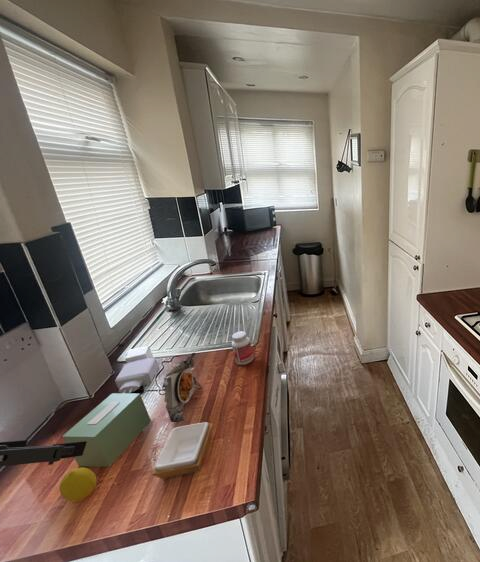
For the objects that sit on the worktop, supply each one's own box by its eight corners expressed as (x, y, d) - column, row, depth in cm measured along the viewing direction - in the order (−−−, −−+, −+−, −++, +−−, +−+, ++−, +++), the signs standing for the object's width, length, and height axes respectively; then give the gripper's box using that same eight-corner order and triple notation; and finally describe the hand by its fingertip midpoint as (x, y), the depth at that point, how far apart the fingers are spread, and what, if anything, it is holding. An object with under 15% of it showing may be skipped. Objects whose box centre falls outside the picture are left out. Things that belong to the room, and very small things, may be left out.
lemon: (64, 514, 65) (47, 489, 62) (75, 490, 69) (60, 465, 66) (96, 503, 67) (82, 478, 64) (105, 480, 71) (92, 456, 68)
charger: (111, 403, 94) (129, 374, 107) (146, 395, 97) (159, 367, 110) (105, 391, 92) (124, 362, 105) (141, 383, 95) (155, 356, 108)
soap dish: (176, 440, 81) (171, 425, 79) (216, 432, 83) (211, 418, 81) (156, 485, 70) (149, 470, 68) (202, 476, 72) (197, 460, 70)
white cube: (130, 372, 108) (124, 358, 106) (134, 363, 113) (129, 349, 111) (150, 367, 110) (145, 353, 108) (153, 358, 115) (148, 345, 113)
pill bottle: (257, 356, 115) (251, 330, 111) (247, 366, 109) (241, 340, 105) (242, 354, 116) (236, 329, 112) (232, 364, 110) (225, 338, 106)
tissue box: (78, 466, 75) (61, 436, 71) (124, 420, 88) (111, 392, 84) (110, 466, 74) (94, 436, 71) (151, 420, 87) (139, 393, 84)
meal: (187, 421, 87) (174, 384, 82) (171, 423, 86) (157, 386, 81) (205, 385, 101) (195, 351, 96) (191, 386, 100) (180, 353, 95)
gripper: (-184, 491, 45) (-10, 466, 65) (-28, 495, 44) (102, 469, 63) (-150, 434, 48) (7, 427, 68) (-3, 437, 47) (114, 429, 66)
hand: (53, 447), depth 66 cm, fingers open, 13 cm apart
